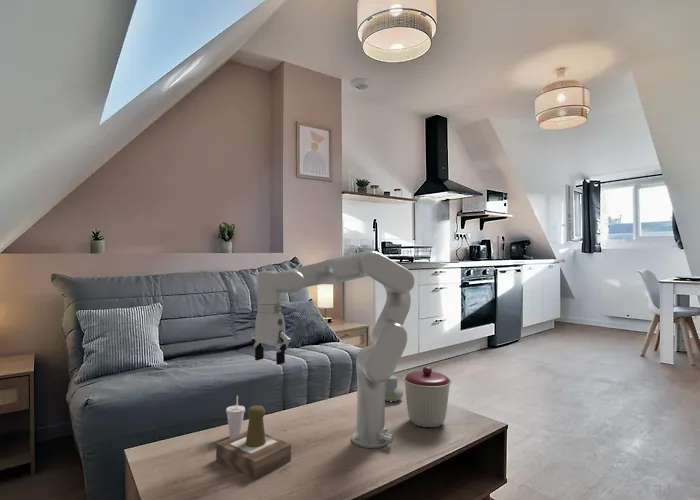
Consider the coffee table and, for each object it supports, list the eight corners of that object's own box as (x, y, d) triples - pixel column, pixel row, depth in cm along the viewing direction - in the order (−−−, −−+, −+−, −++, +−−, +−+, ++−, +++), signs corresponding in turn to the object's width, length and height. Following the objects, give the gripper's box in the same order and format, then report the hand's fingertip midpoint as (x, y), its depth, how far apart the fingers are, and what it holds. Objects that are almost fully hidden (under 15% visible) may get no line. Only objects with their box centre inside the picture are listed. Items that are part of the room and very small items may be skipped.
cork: (256, 449, 124) (256, 411, 124) (241, 444, 127) (241, 407, 127) (270, 441, 129) (270, 405, 129) (255, 436, 132) (256, 401, 132)
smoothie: (239, 441, 140) (240, 399, 141) (221, 439, 142) (222, 398, 142) (247, 433, 147) (248, 393, 147) (231, 431, 148) (231, 392, 148)
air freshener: (403, 397, 186) (404, 375, 187) (401, 404, 178) (402, 380, 178) (379, 395, 189) (380, 373, 189) (376, 401, 181) (376, 378, 181)
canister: (393, 423, 158) (393, 367, 158) (418, 410, 172) (419, 358, 172) (436, 437, 146) (436, 376, 146) (459, 422, 160) (460, 366, 160)
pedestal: (290, 460, 128) (291, 442, 128) (255, 479, 117) (255, 460, 117) (252, 444, 139) (252, 427, 139) (216, 460, 128) (216, 442, 128)
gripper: (297, 309, 134) (297, 362, 134) (259, 306, 144) (259, 355, 144) (280, 312, 128) (280, 368, 128) (242, 308, 138) (242, 360, 138)
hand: (269, 361), depth 136 cm, fingers open, 9 cm apart
